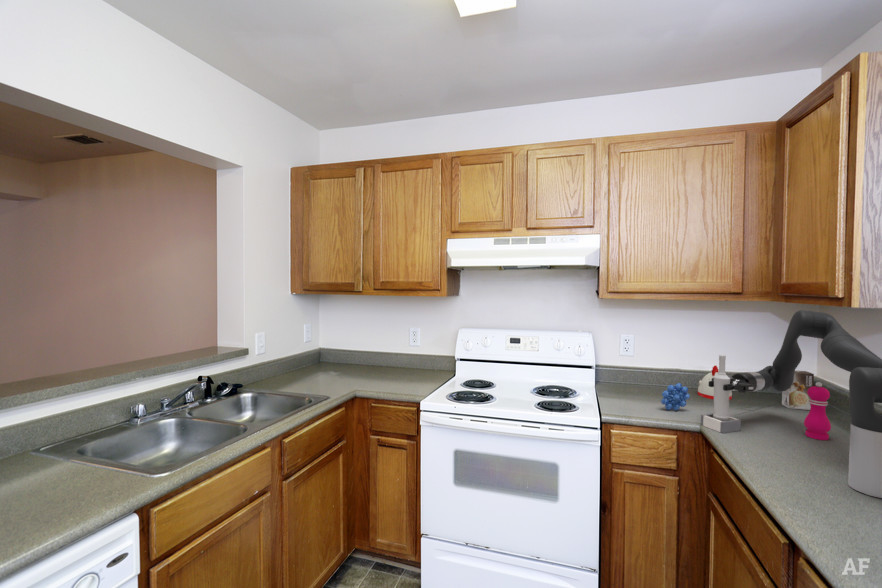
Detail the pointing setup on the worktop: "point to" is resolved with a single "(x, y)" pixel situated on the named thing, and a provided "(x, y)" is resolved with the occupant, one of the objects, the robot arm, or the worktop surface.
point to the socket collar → (721, 424)
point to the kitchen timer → (704, 385)
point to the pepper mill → (817, 413)
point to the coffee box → (798, 391)
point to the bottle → (721, 392)
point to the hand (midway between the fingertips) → (716, 386)
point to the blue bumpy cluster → (675, 397)
